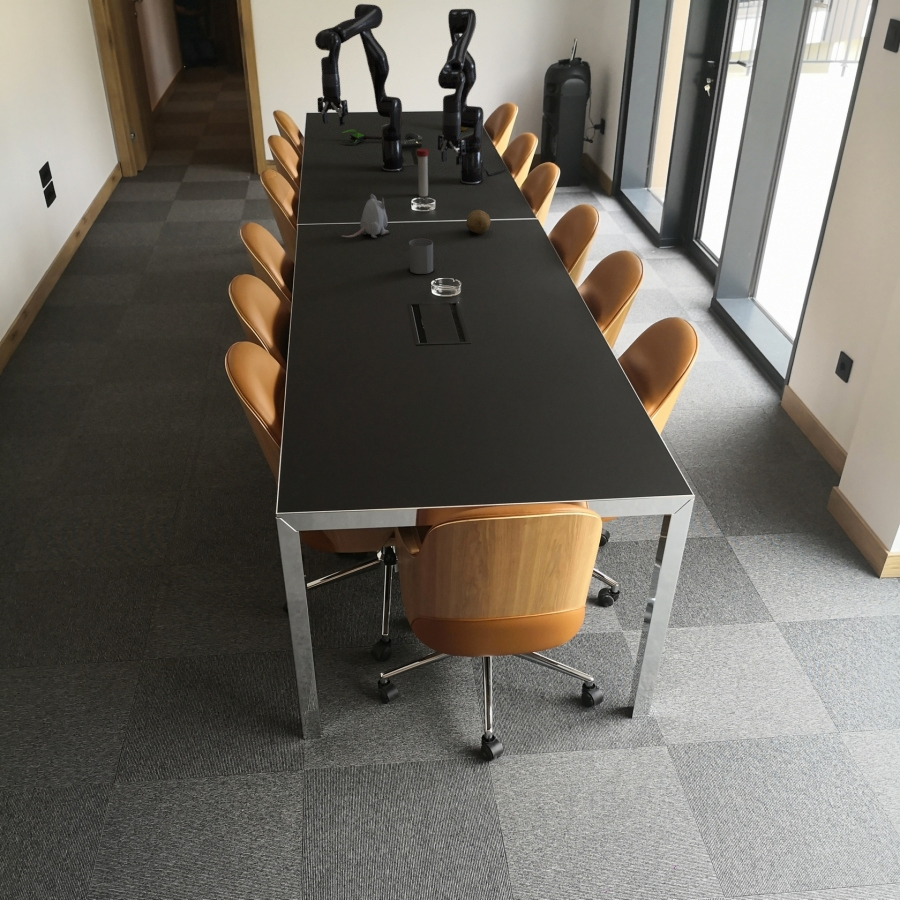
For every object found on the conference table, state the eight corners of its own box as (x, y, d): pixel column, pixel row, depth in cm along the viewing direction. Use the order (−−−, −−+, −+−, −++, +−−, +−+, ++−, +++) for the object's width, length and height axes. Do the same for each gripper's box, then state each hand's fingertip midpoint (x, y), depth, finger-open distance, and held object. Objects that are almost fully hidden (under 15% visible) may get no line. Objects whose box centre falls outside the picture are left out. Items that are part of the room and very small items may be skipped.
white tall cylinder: (429, 194, 386) (429, 150, 376) (425, 197, 383) (424, 152, 373) (421, 193, 388) (420, 149, 377) (416, 195, 384) (415, 151, 374)
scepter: (396, 126, 467) (340, 124, 465) (396, 141, 460) (339, 139, 458) (396, 135, 472) (341, 133, 470) (396, 151, 465) (340, 148, 463)
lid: (430, 154, 377) (430, 149, 376) (425, 157, 373) (425, 151, 372) (420, 153, 379) (420, 148, 378) (414, 155, 375) (414, 150, 374)
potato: (488, 225, 349) (488, 206, 345) (492, 237, 337) (492, 217, 333) (464, 226, 348) (464, 206, 344) (467, 238, 337) (467, 217, 332)
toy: (394, 233, 341) (393, 195, 333) (349, 248, 327) (347, 208, 319) (379, 228, 347) (377, 190, 338) (334, 242, 332) (331, 203, 324)
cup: (409, 265, 311) (408, 238, 306) (432, 265, 312) (431, 238, 307) (410, 274, 304) (409, 246, 299) (433, 273, 305) (433, 246, 299)
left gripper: (350, 84, 364) (352, 124, 372) (322, 81, 370) (325, 121, 378) (339, 87, 358) (342, 128, 367) (311, 84, 364) (315, 124, 373)
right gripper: (470, 124, 351) (469, 164, 360) (446, 118, 360) (446, 158, 369) (457, 127, 347) (456, 168, 355) (432, 121, 355) (433, 161, 364)
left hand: (333, 124), depth 373 cm, fingers open, 8 cm apart
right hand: (451, 163), depth 362 cm, fingers open, 8 cm apart
